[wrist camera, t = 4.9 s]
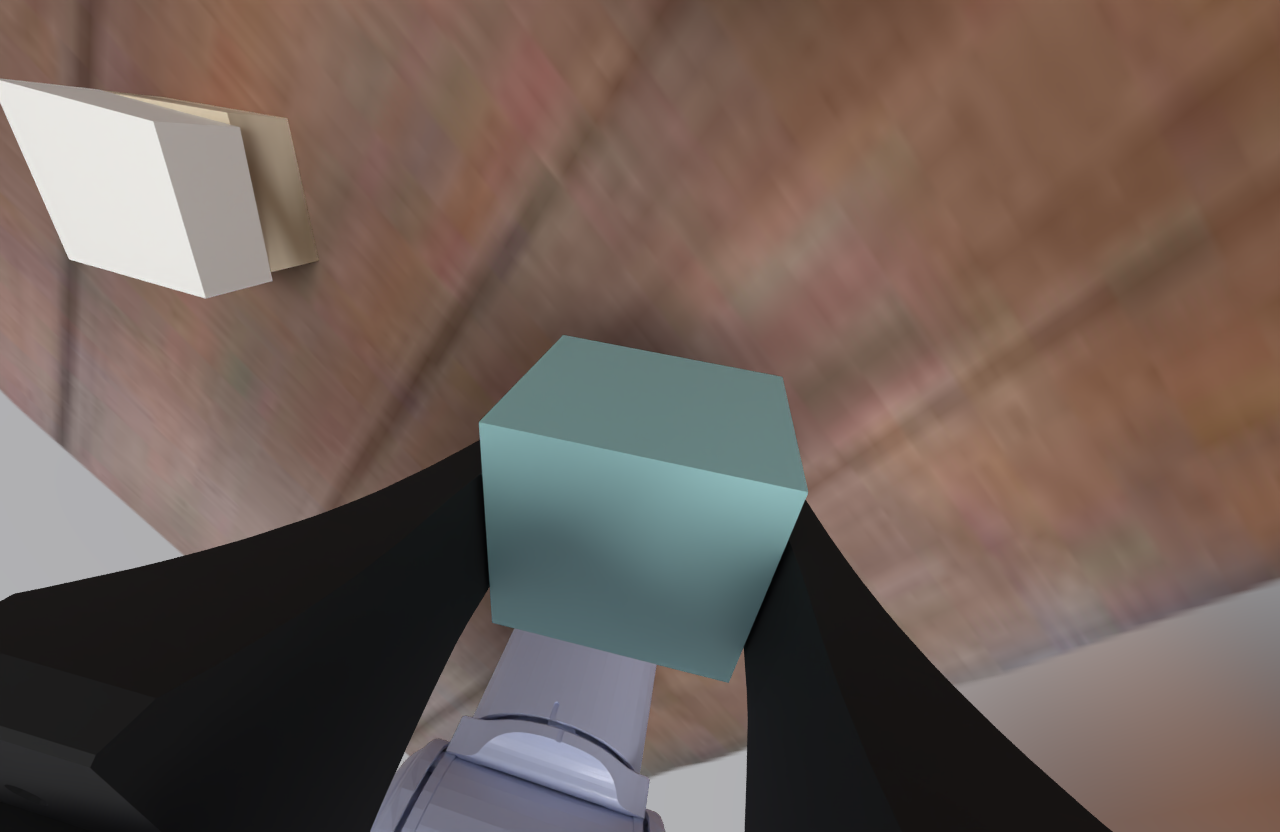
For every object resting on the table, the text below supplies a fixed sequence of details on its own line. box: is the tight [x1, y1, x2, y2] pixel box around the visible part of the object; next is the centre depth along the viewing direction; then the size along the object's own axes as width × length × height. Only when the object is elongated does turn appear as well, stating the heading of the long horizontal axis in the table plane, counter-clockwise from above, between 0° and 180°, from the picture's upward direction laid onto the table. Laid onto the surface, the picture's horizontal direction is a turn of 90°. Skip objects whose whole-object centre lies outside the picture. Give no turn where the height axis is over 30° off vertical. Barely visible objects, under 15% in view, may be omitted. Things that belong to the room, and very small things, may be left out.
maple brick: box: [102, 90, 319, 272], centre depth 17 cm, size 5×5×2 cm
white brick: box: [0, 79, 272, 298], centre depth 15 cm, size 5×5×2 cm
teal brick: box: [479, 335, 808, 683], centre depth 10 cm, size 5×5×4 cm
